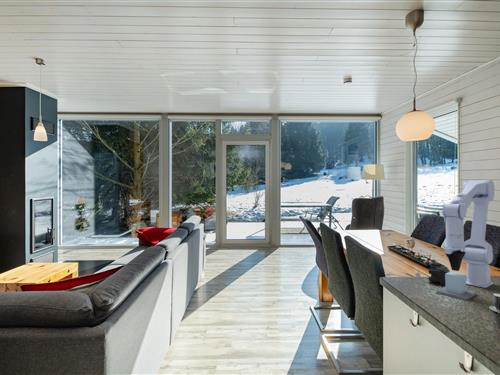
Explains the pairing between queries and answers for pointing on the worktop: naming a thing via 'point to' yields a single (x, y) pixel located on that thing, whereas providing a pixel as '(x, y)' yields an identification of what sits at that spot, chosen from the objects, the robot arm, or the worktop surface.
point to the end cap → (437, 274)
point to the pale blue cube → (455, 282)
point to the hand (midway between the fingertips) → (455, 270)
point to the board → (464, 296)
